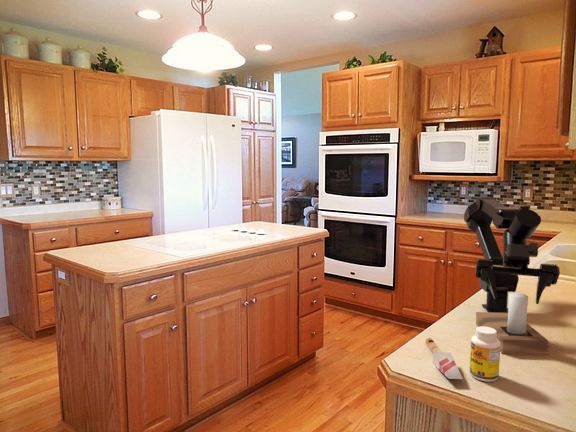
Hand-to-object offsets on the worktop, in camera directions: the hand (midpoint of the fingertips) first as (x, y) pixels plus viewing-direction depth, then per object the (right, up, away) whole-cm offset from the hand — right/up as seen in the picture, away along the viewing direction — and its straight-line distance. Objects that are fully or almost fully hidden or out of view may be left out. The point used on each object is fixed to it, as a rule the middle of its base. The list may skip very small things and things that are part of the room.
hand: (516, 301), depth 107 cm
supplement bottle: (-15, -13, -16) cm, 26 cm away
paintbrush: (-22, -12, -10) cm, 27 cm away
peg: (-1, -11, -1) cm, 11 cm away
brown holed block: (-1, -10, +3) cm, 10 cm away
